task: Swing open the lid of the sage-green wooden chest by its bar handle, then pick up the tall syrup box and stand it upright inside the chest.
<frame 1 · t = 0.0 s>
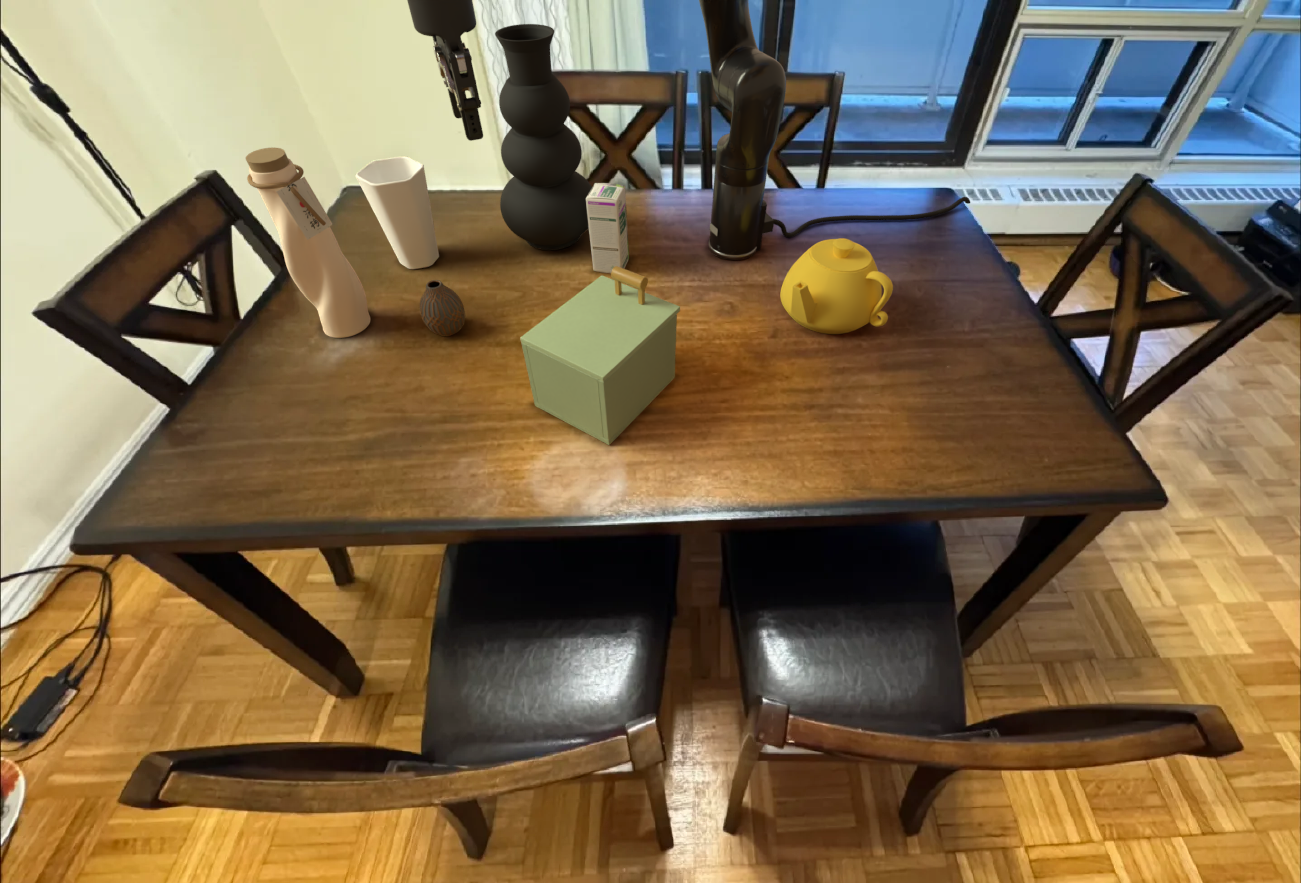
hand: (468, 127, 81), 29 cm above the table, tool pointing down, fingers open, 8 cm apart
lid: (601, 311, 78), point 14 cm above the table, hinge at 0.0°
water bottle: (351, 325, 100), on the table
cup: (420, 259, 113), on the table
vase: (448, 329, 99), on the table
chest: (606, 391, 89), on the table
syrup box: (611, 266, 111), on the table
teapot: (825, 317, 101), on the table
vase 2: (553, 238, 118), on the table
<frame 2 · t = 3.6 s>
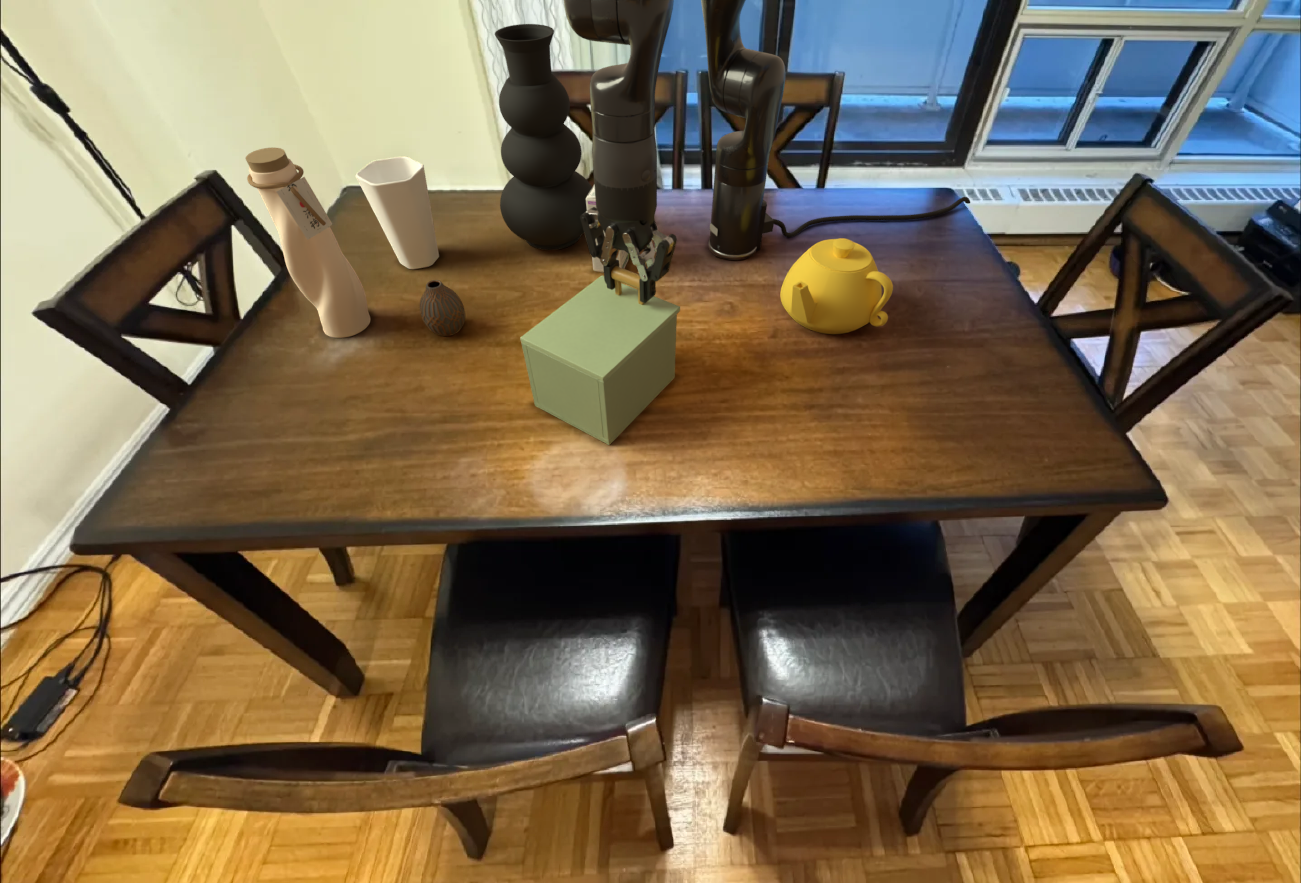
hand: (629, 292, 82), 14 cm above the table, tool pointing down, fingers closed on lid, 5 cm apart
lid: (601, 311, 78), point 14 cm above the table, hinge at 0.0°, touching gripper
everything else where it was.
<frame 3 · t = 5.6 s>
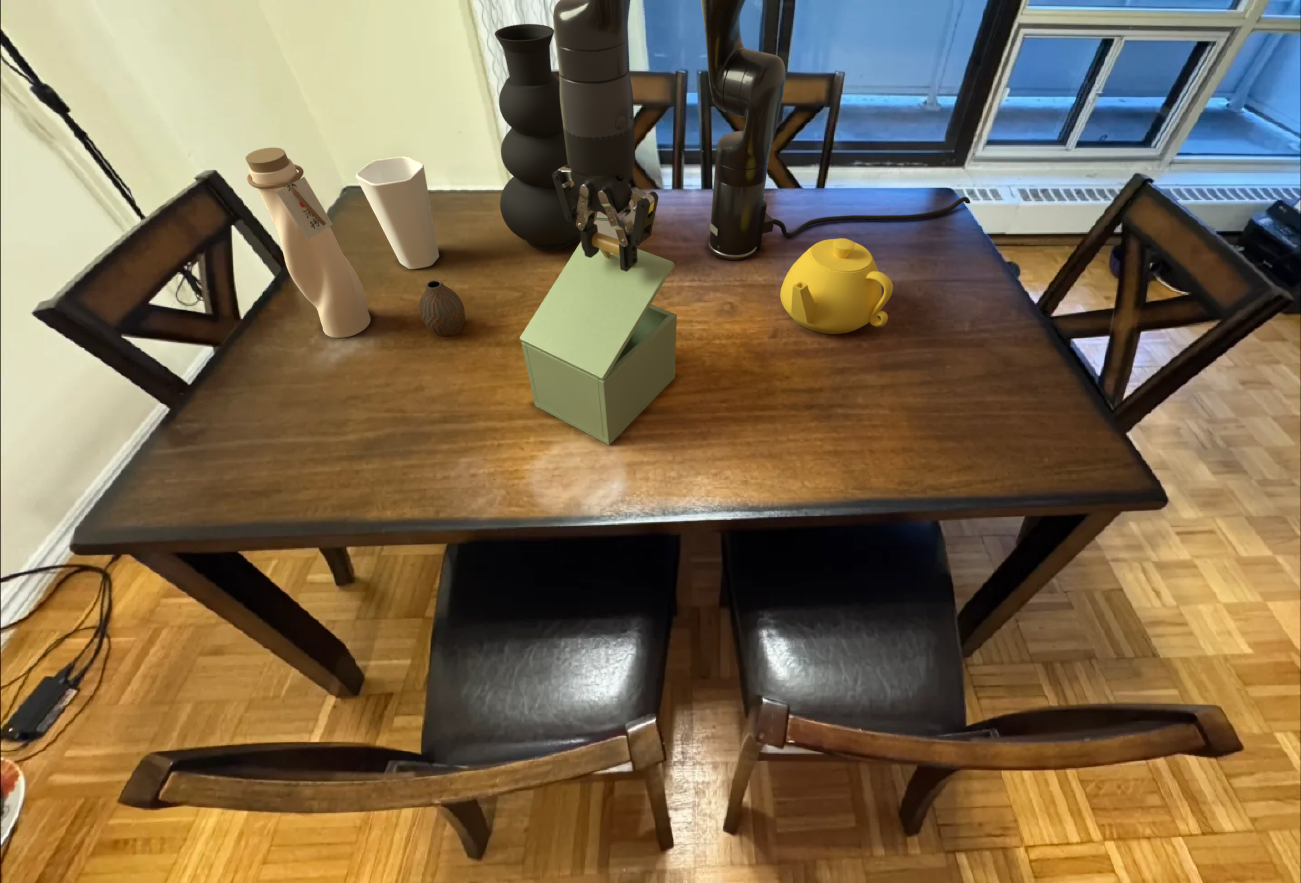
hand: (609, 260, 74), 21 cm above the table, tool pointing down, fingers closed on lid, 5 cm apart
lid: (589, 293, 74), point 18 cm above the table, hinge at 27.5°, touching gripper
everything else where it was.
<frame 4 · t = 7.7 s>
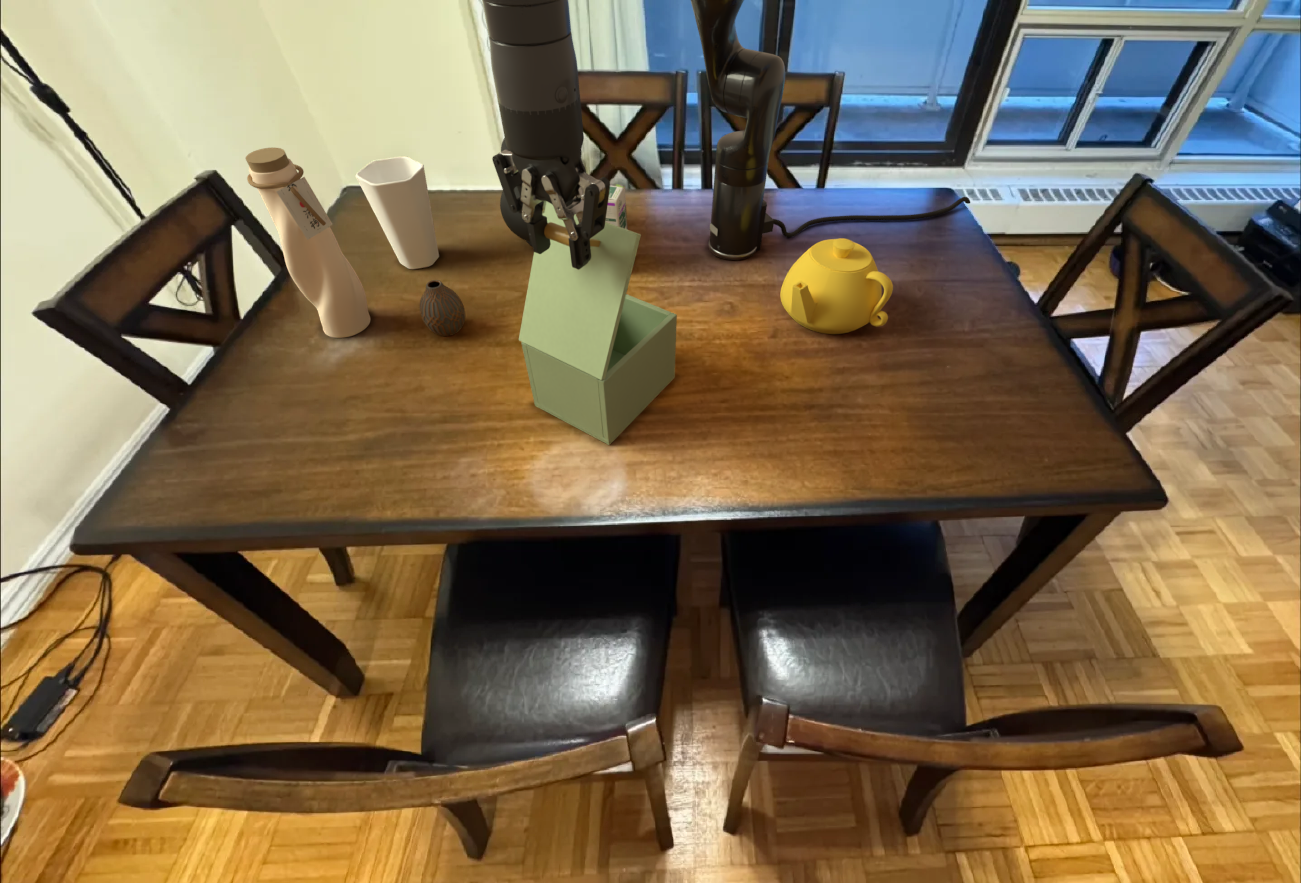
hand: (561, 257, 66), 26 cm above the table, tool pointing down, fingers closed on lid, 5 cm apart
lid: (563, 292, 69), point 21 cm above the table, hinge at 62.1°, touching gripper
everything else where it was.
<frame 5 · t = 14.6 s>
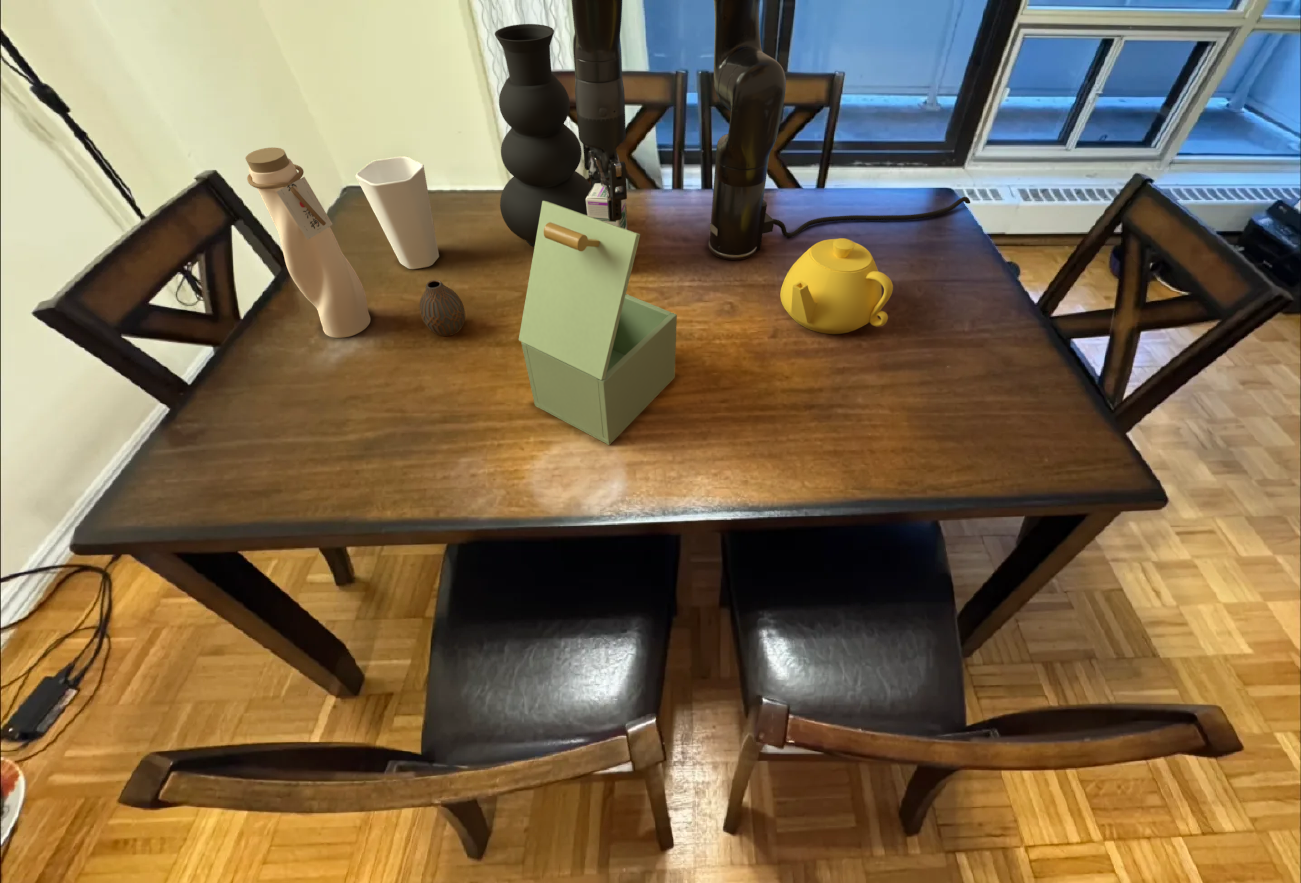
hand: (606, 208, 103), 11 cm above the table, tool pointing down, fingers closed on syrup box, 7 cm apart
lid: (563, 292, 69), point 21 cm above the table, hinge at 62.6°
syrup box: (611, 266, 111), on the table, touching gripper
everything else where it was.
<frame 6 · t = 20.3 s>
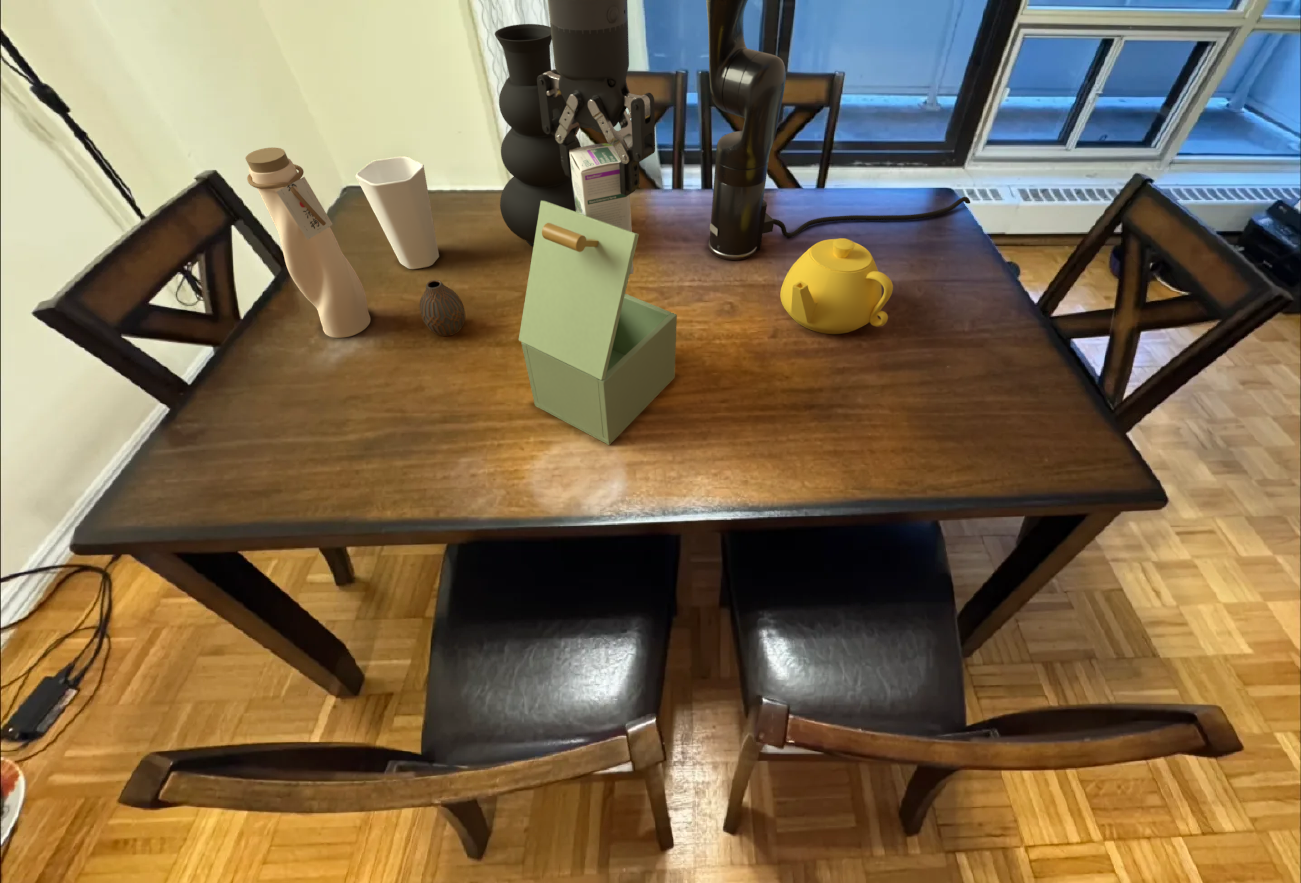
hand: (600, 183, 68), 30 cm above the table, tool pointing down, fingers closed on syrup box, 7 cm apart
lid: (562, 292, 69), point 21 cm above the table, hinge at 63.5°, touching syrup box
syrup box: (606, 268, 77), point 19 cm above the table, touching gripper, lid
everything else where it was.
when the fingers open (12 cm above the table, at t = 24.9 s): syrup box drops 2 cm, resting on chest.
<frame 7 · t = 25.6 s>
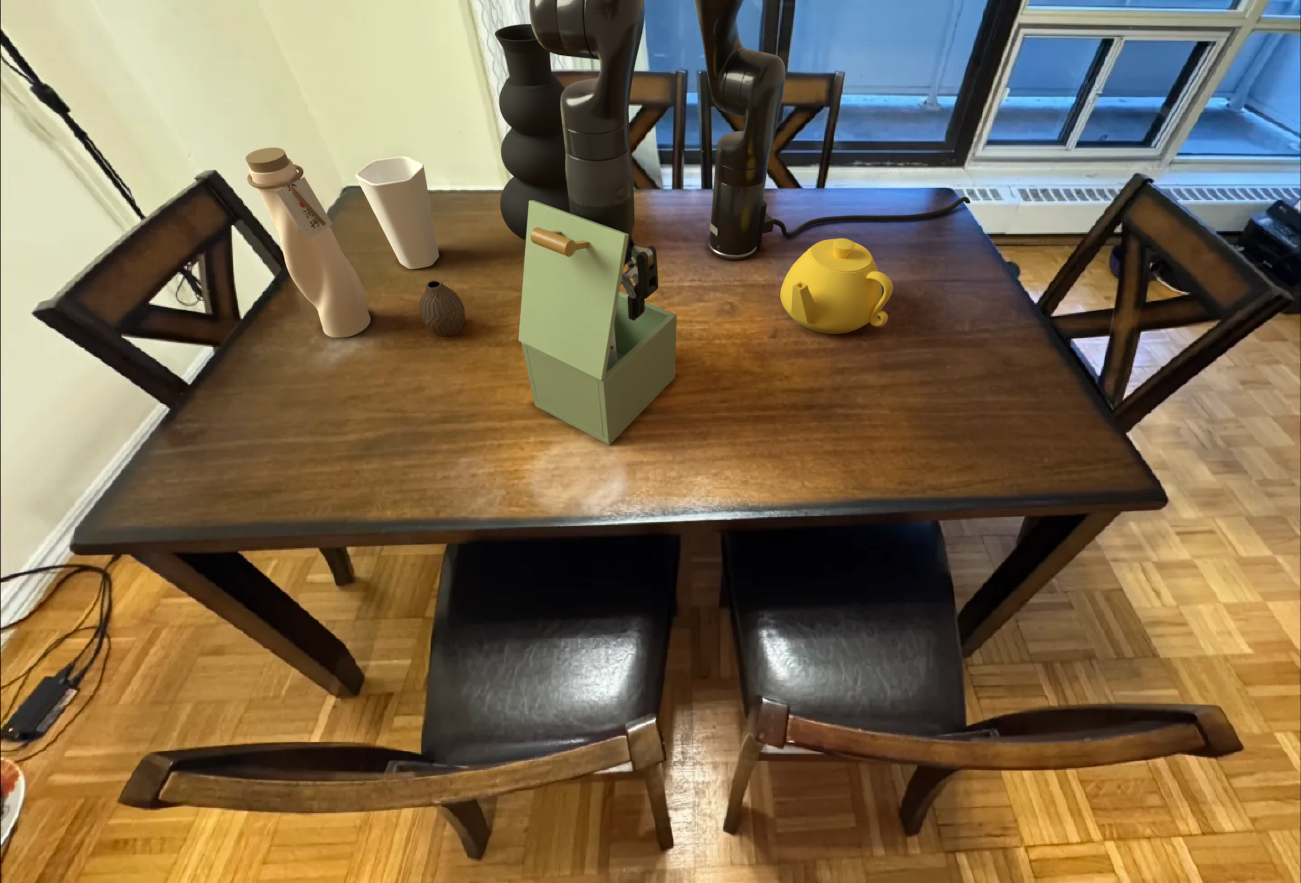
hand: (609, 306, 79), 14 cm above the table, tool pointing down, fingers open, 8 cm apart
lid: (556, 295, 68), point 21 cm above the table, hinge at 70.2°
syrup box: (597, 396, 87), point 1 cm above the table, touching chest
everything else where it was.
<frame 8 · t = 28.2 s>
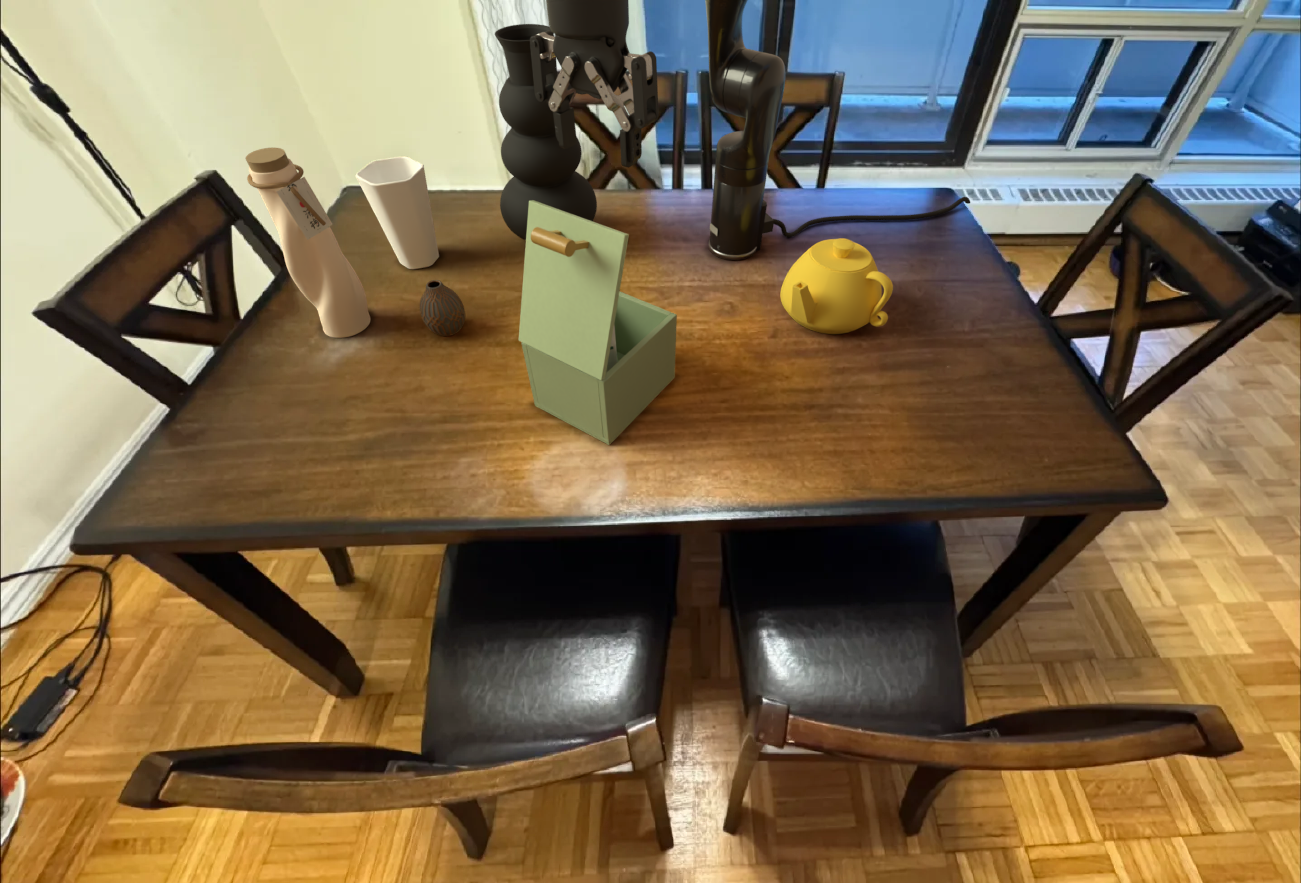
hand: (598, 154, 64), 34 cm above the table, tool pointing down, fingers open, 8 cm apart
nothing on the table moved.
at the end: lid at +70° (first picture: +0°); syrup box inside the target area in the chest (2.2 cm from its centre), point 0.7 cm above the chest's base; syrup box tilted 0° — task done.
